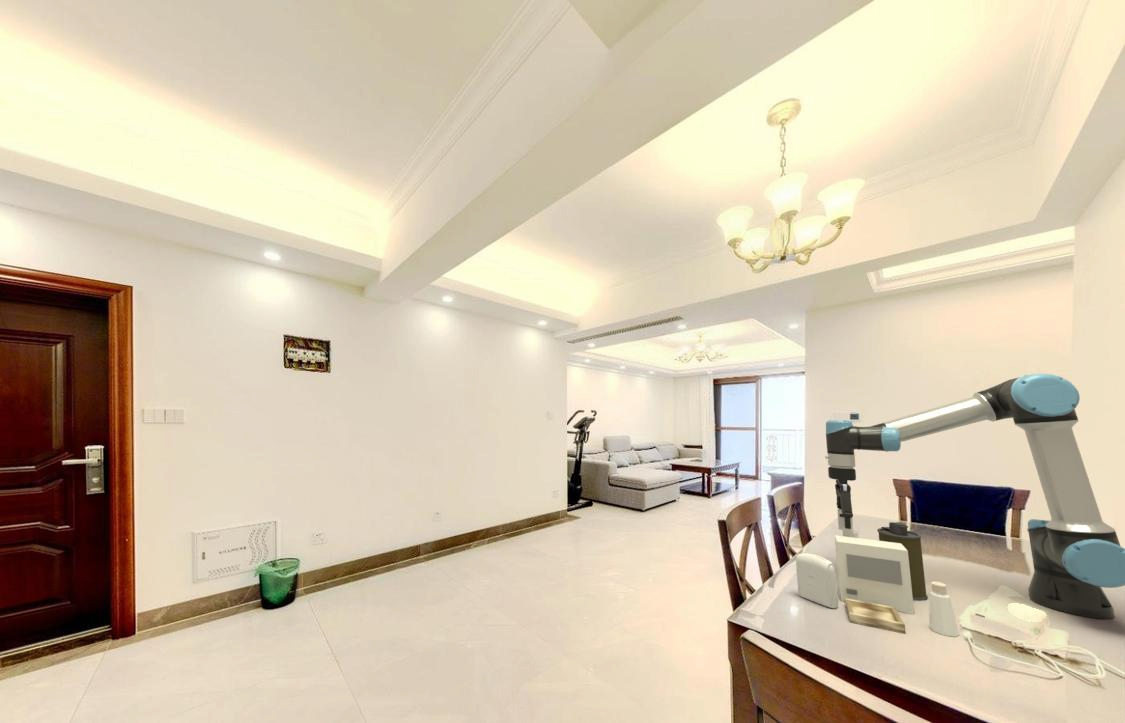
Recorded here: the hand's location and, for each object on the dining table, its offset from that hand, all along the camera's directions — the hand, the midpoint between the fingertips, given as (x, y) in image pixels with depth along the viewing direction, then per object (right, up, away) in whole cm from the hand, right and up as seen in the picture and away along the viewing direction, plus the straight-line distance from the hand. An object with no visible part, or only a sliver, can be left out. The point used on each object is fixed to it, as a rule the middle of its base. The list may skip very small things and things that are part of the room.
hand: (845, 534), depth 132 cm
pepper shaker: (+1, -10, -33) cm, 34 cm away
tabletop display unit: (-3, -12, -16) cm, 21 cm away
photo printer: (-19, -12, -17) cm, 28 cm away
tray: (-11, -11, -27) cm, 31 cm away
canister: (+11, -14, -10) cm, 20 cm away
